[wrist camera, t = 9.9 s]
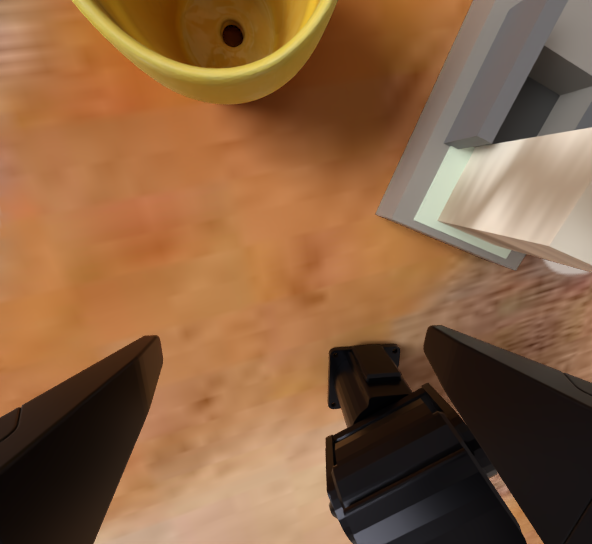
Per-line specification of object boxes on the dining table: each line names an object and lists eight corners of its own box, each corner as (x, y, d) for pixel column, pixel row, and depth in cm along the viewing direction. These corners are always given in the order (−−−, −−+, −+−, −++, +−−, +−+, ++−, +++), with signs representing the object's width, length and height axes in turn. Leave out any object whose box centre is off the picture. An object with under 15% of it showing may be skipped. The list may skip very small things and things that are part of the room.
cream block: (494, 245, 20) (632, 283, 12) (437, 220, 19) (549, 245, 11) (534, 177, 19) (715, 173, 11) (475, 147, 18) (629, 120, 10)
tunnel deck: (486, 260, 24) (554, 284, 18) (375, 214, 22) (413, 225, 16) (639, 1, 19) (798, -76, 13) (515, -92, 17) (641, -232, 11)
